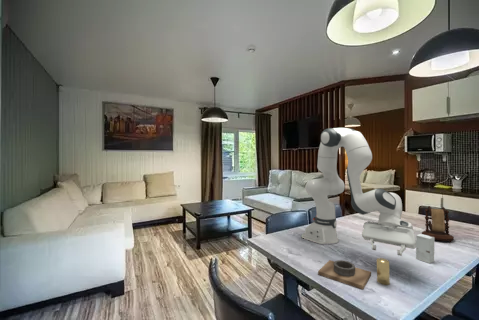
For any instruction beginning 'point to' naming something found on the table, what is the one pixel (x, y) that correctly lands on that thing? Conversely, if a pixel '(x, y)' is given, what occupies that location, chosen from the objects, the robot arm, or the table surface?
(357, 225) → the table surface
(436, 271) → the table surface
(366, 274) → the ring holder
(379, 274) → the cylinder
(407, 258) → the table surface
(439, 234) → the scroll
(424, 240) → the skincare box
